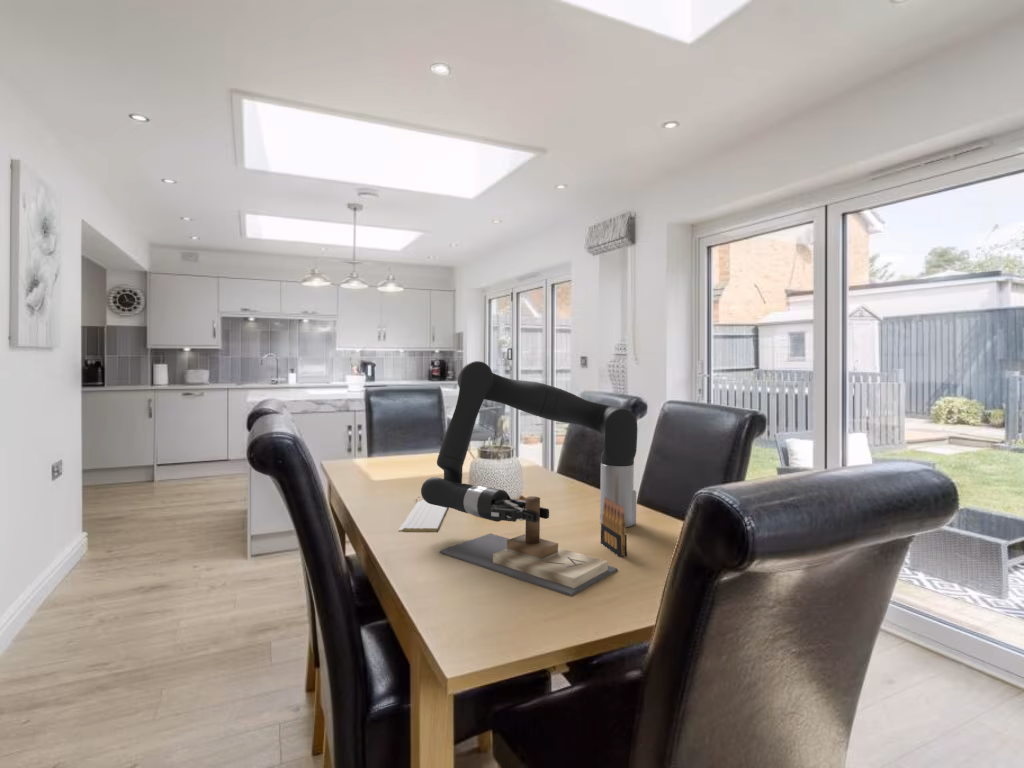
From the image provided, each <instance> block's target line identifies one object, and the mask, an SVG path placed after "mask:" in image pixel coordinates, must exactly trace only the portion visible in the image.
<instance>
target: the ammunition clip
mask: <svg viewBox="0 0 1024 768" xmlns="http://www.w3.org/2000/svg"><path fill="white" fill-rule="evenodd" d="M627 538H628V537H627V534H626V527H625V513H624V508H623V506H621V508H620V505H619V504H618V506H617V504H616V502H615V503H613V500H612V501H611V502H610V499H608V500H607V497H605V499H604V505H603V514H602V524H601V523H600V544H601V545H602V544H603V545H602V546H604V547H605V548H606V547H607V549H608V550H609V549H610V550H609V551H611V552H612V553H613V552H614V553H613V554H615V555H616V554H617V555H618V556H617V555H616V556H617V557H619V558H624V556H626V557H627V555H628V550H627V549H628V548H627V545H628V543H627V542H628V541H627V540H628V539H627Z"/></svg>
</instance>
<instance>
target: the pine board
mask: <svg viewBox="0 0 1024 768" xmlns="http://www.w3.org/2000/svg"><path fill="white" fill-rule="evenodd" d="M493 563H496V564H499V565H502V566H505V567H508V568H512V569H515V570H518V571H521V572H524V573H527V574H530V575H534V576H537V577H540V578H543V579H546V580H549V581H552V582H556V583H559V584H562V585H565V586H568V587H571V588H576V587H578V586H580V585H581V584H583V583H585V582H587V581H589V580H591V579H592V578H594V577H596V576H598V575H600V574H602V573H604V572H605V571H607V570H608V566H609V561H608V560H604V559H600V558H597V557H593V556H589V555H587V554H582V553H579V552H574V551H570V550H568V549H567V550H566V549H564V548H560V547H558V554H557V555H555V556H553V557H551V558H548V559H546V560H544V561H539V560H536V559H532V558H529V557H526V556H522V555H519V554H516V553H512V552H509V551H507V549H504V550H502V551H499V552H496V553H494V554H493Z"/></svg>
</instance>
